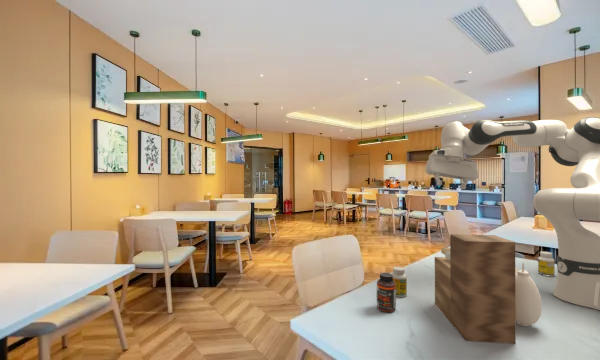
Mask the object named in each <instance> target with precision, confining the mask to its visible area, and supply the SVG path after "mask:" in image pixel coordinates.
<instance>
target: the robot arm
mask: <svg viewBox="0 0 600 360" xmlns="http://www.w3.org/2000/svg"><path fill="white" fill-rule="evenodd" d="M440 135H441V136H440V144H441V148H440V149H436V150H434V151H432V152H431V153H430V154H429V155H428V160H427V162H426V165H425V173H426V174H427V175H431V176H433V178H434V180H435V181H436V186H442V185H443V180H442V179H440V177H442V178H444V177H445V178H450V179H456V180H461V181H462V183H461V184H460V185H459V189H460V190H466V189H467V184H468V183H469V182H474V181H476V180H477V179H478V178H479V171H478V163H477V162H476V161H475V160H473V159H468V158H464V157H465V156H464V155H467V156H476V155H479V153H481V152H482V151H484V150H485V149H486V148H488V146H489V145H491V144H492V143H494V142H495V141H496V140H498V139H501V138H509V137H510V138H512V141H513V142H514V144H515V145H516V146H518V147H520V148H528V149H529V148H537V147H543V146H548V153H550V155H551V157H552V159H553V160H554V161H555V162H556V163H557V164H559V165H561V166H565V167H575V168H574V170H573V171H572V174H571V176H570V181H569V182H570V184H571V186H572V187H551V188H544V189H540V190H538V191H537V192H536V193H535V195H534V196H533V199H532V202H533V203H532V204H533V207H534V209H535V211H536V212H537V213H539V214H540V215H541V216H543V217H544V218H545V219H547V220H548V222H549V223H550V224H551V225H552V227H553V229H554V231H555V233H556V237H557V243H558V244H557V246H558V247H557V249H558V250H557V251H558V255H556V269H557V275H556V276H557V277H556V281H555V285H554V288H553V291H552V295H553V296H554V297H556V298H558V299H560V300H562V301H565V302H568V303H571V304H574V305H577V306H582V307H585V308H586V307H587V308H590V309H595V310H598V311H600V235H599V234H597V233H596V232H594V231H591V230H589V229H587V228H586V227H584V226H583V225H582V224H581V222H580V220H581V221H582V220H583V221H594V222H600V117H598V116H597V117H596V116H588V117H584V118H582V119H580V120H579V121H577V122H576V123H575V124H574V125H573V127H572V128H570V129H568V126H567V124H566V123H565V122H564V121H562V120H558V119H540V120H533V121H532V120H507V121H505V120H504V121H497V120H490V119H480V120H478V121H476V122H475V123H473V125H472V126H471V127H470V129H468V128H467V127H465V126H464V125H463V123H462V122H460V121H451V122H449V123H447V124H446V125H444V126H443V128H442V129H441V134H440Z"/></svg>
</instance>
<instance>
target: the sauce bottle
mask: <svg viewBox="0 0 600 360" xmlns="http://www.w3.org/2000/svg"><path fill="white" fill-rule="evenodd" d="M521 265H522V267H521V269H520V270H517V272H516V273H515V298H516V323H518V324H519V325H520V326H523V327H528V326H529V327H530V326H532V325H535V324H536V323H537V322H538V321H539V319H540V318H541V316H542V311H543V304H542V303H543V302H542V297H541V294H540V291H539V289H538V286H537V285H536V283H535V281H534V279H533V278H532V277H531V276H530V273H529V272H528V271H527V270H525V264H524V262H522V264H521Z"/></svg>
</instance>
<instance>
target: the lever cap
mask: <svg viewBox="0 0 600 360" xmlns="http://www.w3.org/2000/svg"><path fill="white" fill-rule="evenodd" d="M440 253H442V254H443V255H444V257H445V259H446V260H447V261H449V262H450V247H447V248H446V247H441V248H440Z"/></svg>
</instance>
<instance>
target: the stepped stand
mask: <svg viewBox="0 0 600 360" xmlns="http://www.w3.org/2000/svg"><path fill="white" fill-rule="evenodd" d="M449 238H450V241H449V243H450V244H449V245H450V246H449V248H450V262H449V261H447V260H446V259H445V256H434V305H435V306H436V308H437V309H438V310H439V311H440V313H442V315H443V316H444V317H445V318H446V319H447V320H448V322H449V323H450V324H451V325H452V326H453V327H454V329H455V330H456V331H457V332H458V333H459V334H460V335H461V337H462V338H463V339H464V340H465V341H466V342H478V343H480V342H481V343H495V344H497V343H499V344H511V345H515V344H517V343H516V342H517V341H516V339H517V333H516V332H517V330H516V327H517V326H516V323H517V322H516V298H515V275H516V241H513V240H509V239H507V238H504V237H501V236H498V235H495V234H458V233H457V234H452V233H451V234H450V235H449Z"/></svg>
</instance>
